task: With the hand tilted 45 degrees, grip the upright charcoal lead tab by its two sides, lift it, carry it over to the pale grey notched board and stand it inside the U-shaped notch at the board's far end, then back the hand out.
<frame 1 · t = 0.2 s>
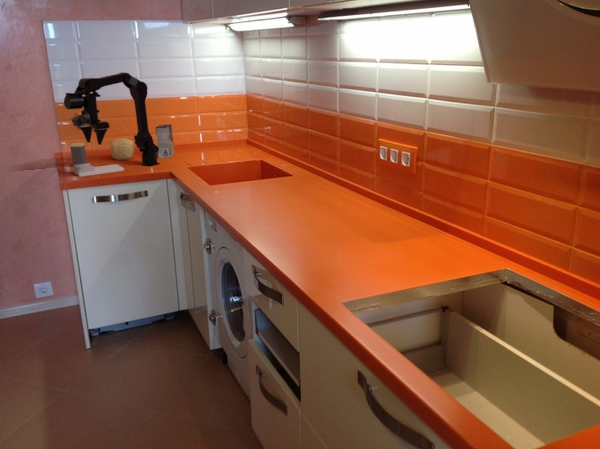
hand: (94, 143, 243), 14 cm above the worktop, tool pointing down, fingers open, 9 cm apart
sculpture: (123, 159, 283), on the worktop
lead tab: (80, 166, 267), on the worktop
coffee box: (166, 156, 287), on the worktop
notch board: (86, 173, 252), on the worktop
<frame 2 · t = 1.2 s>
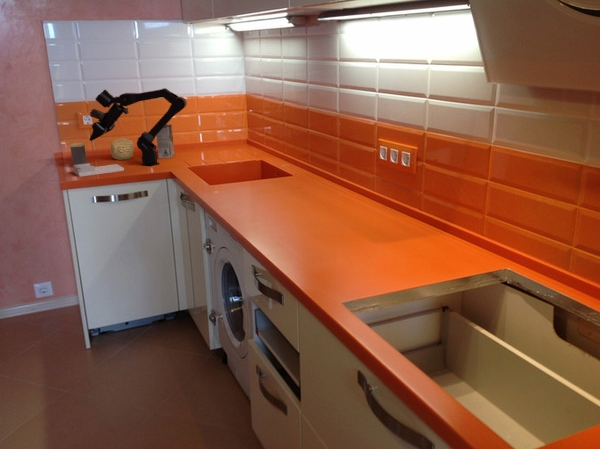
hand: (93, 138, 263), 13 cm above the worktop, tool tilted 45°, fingers open, 9 cm apart
nothing on the worktop moved.
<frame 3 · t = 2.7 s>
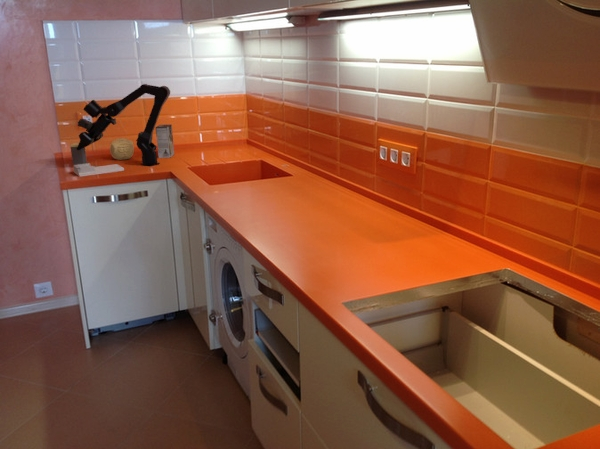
hand: (80, 148, 264), 9 cm above the worktop, tool tilted 45°, fingers open, 9 cm apart
nothing on the worktop moved.
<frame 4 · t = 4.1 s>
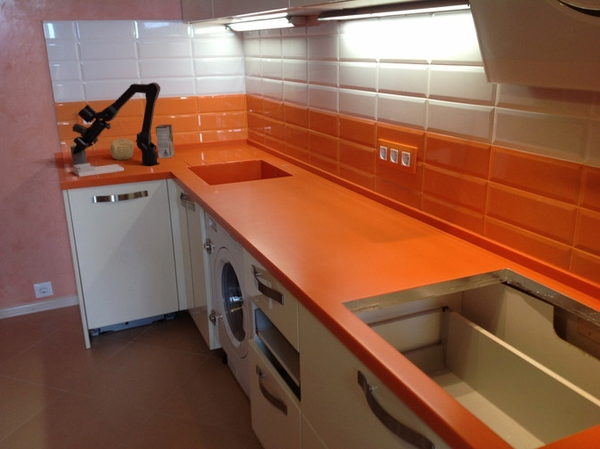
hand: (75, 152, 265), 7 cm above the worktop, tool tilted 45°, fingers closed on lead tab, 5 cm apart
lead tab: (80, 166, 267), on the worktop, touching gripper
everything else where it was.
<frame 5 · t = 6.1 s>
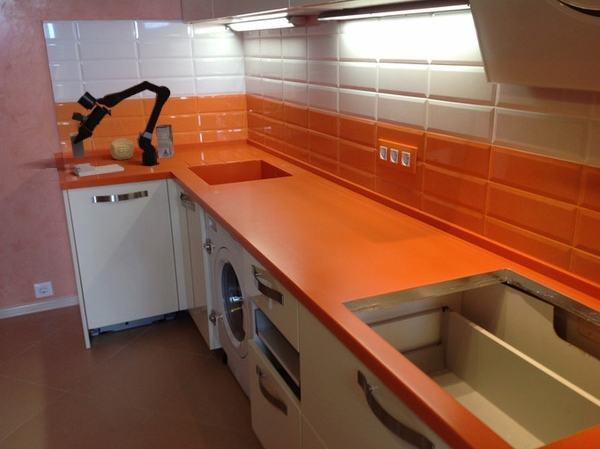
hand: (74, 142, 253), 13 cm above the worktop, tool tilted 45°, fingers closed on lead tab, 5 cm apart
lead tab: (79, 156, 256), point 7 cm above the worktop, touching gripper
everything else where it was.
when the fingers open (9 cm above the worktop, at t = 8.1 s): lead tab drops 1 cm, resting on notch board.
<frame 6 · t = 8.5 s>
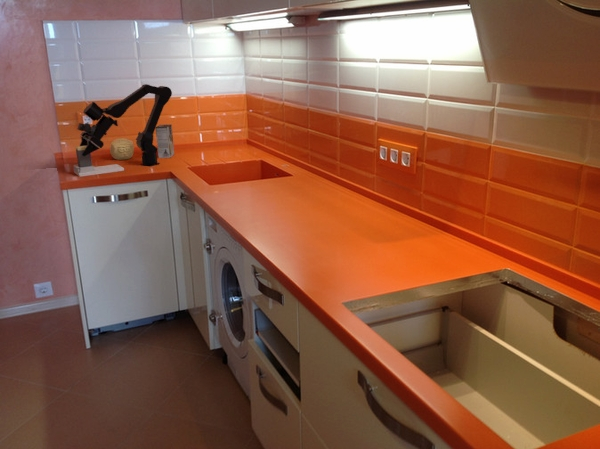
hand: (80, 154, 249), 9 cm above the worktop, tool tilted 45°, fingers open, 9 cm apart
lead tab: (85, 170, 252), point 1 cm above the worktop, touching notch board
everything else where it was.
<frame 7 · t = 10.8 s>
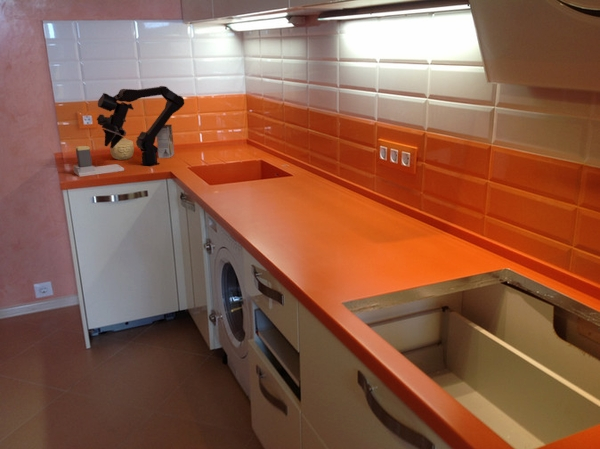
hand: (108, 147, 253), 11 cm above the worktop, tool tilted 25°, fingers open, 9 cm apart
nothing on the worktop moved.
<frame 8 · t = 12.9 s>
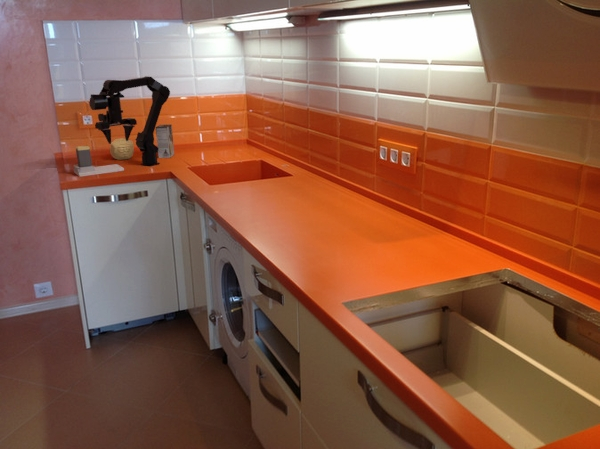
hand: (118, 142, 254), 13 cm above the worktop, tool pointing down, fingers open, 9 cm apart
nothing on the worktop moved.
at the end: lead tab 0.0 cm off-centre on the notch board, point 1.2 cm above the notch board's base; lead tab tilted 0°; the gripper is holding nothing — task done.
